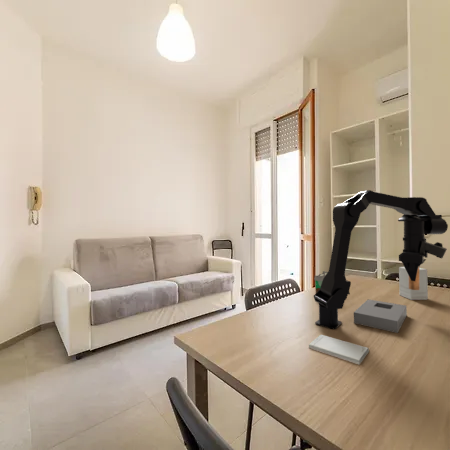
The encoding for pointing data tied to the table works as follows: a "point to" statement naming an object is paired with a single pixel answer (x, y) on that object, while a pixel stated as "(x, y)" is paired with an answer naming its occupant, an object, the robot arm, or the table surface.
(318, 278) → the food container
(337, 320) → the robot arm
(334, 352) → the hard drive
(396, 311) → the grey block with hole
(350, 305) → the table surface
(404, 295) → the supplement box
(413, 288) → the pin
